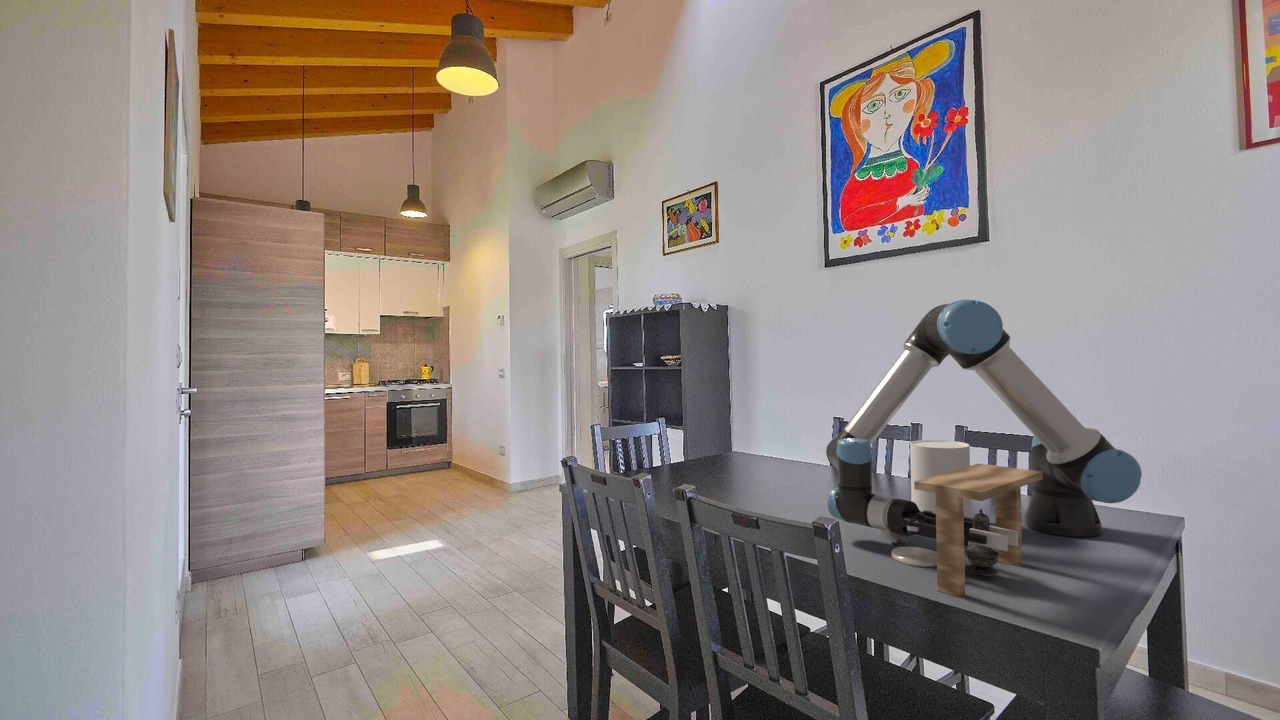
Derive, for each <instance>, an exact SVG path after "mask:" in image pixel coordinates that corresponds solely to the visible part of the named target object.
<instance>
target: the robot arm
mask: <svg viewBox="0 0 1280 720" xmlns="http://www.w3.org/2000/svg"><path fill="white" fill-rule="evenodd" d="M1003 326H1004V323H1003V320H1002V317H1001V315H1000V314H999V312H998V311H997V310H996V309H995V308H994V307H993V306H991V305H990V304H988V303H986V302H984V301H980V300H975V299H974V300H973V299H961V300H957V301H952V302H951V303H947V304H945V303H944V304H940V305H938V306H936V307H933V308H932V309H930V310H929V311H928V312H927V313H926V314H925V315H924V316H923V317H922V318H921V320H920V321H919V323H918V324H917V325H916V326H915V327H914V329H913V331H912V332H911V334H910V335H909V336H908V337H907V339H906V340H905V341H904V343H903V351H902V352H901V353H900V355H899V357H898V358H897V359H896V360H895V362H894V363H893V364H892V365H891V366H890V368H889V370H888V371H887V372H886V373H885V375H884V376H882V379H881V380H880V381H879V382H878V383H877V385H876V387H875V388H874V389H873V391H872V392H871V393H870V394H869V395H868V397H867V398H866V399H865V401H864V402H863V403H862V405H861V406H860V407H859V409H858V410H857V411H856V412H855V413H854V415H853V416H852V417H851V418H850V420H849V421H848V423H847V424H846V426H845V427H844V428H843V429H842V431H840V432H839V434H838V435H837V437H835V438H832V439H831V440H830V441H828V443H827V444H826V447H825V455H826V458H827V460H828V462H829V463H830V465H832V466H833V467H834V468H835V469H836V470H837V485H838V486H836V487H834V488H833V489H831V490H830V492H829V493H828V499H827V504H826V505H827V510H828V512H829V514H830V515H831V516H832V517H833V518H834V519H837V520H840V521H844V522H846V523H848V524H854V525H860V526H864V527H869V528H872V529H876V530H877V529H878V530H879V531H880V532H881V533H886V532H889V533H890V532H893V533H895V534H898V535H899V536H904V537H912V536H919V537H923V538H928V539H932V540H936V513H933V512H931V511H923V512H921V511H920V510H919V508H918V506H917V505H916V504H915V503H914V502H912V501H911V500H907V499H902V498H896V497H892V496H887V495H882V494H877V493H876V494H875V493H874V492H873V453H872V444H873V443H874V442H875V440H877V438H878V436H880V434H881V433H882V432H883V431H884V429H885V428H886V427H887V426H888V424H889V423H890V422H891V420H892V419H893V418H894V416H895V415H896V414H897V412H899V410H900V409H901V408H902V406H903V405H904V403H905V402H906V401H907V400H908V398H909V397H910V396H911V395H912V393H913V392H914V391H915V390H916V388H917V387H918V385H919V384H920V383H921V382H922V381H923V379H924V378H925V377H926V375H927V374H928V373H929V372H930V370H931V369H933V368H936V367H939V366H940V365H941V363H942V362H943V361H944V360H945V359H946V358H947V357H948V356H951V357H952V359H954V360H955V362H957V364H958V366H960V367H961V369H963V370H967V371H974V372H975V373H976V374H977V375H978V376H979V378H981V380H983V381H984V383H986V385H987V386H988V387H989V388H990V390H992V391H993V392H994V394H995V395H996V396H997V397H998V398H999V399H1000V400H1001V401H1002V402H1003V403H1004V404H1005V405H1006V407H1007V408H1008V409H1009V410H1010V411H1011V413H1013V414H1014V415H1015V416H1016V418H1018V420H1019V421H1020V422H1021V423H1022V424H1023V425H1024V426H1025V427H1026V428H1027V429H1028V430H1029V431H1030V432H1031V434H1033V437H1032V442H1031V448H1030V449H1031V464H1032V466H1031V467H1032V469H1031V470H1034V471H1041V472H1043V479H1042V480H1039V481H1036V482H1033V483H1032V495H1031V498H1030V501H1029V504H1028V505H1027V509H1026V512H1025V513H1024V523H1025V526H1027V527H1029V528H1030V529H1033V530H1036V531H1039V532H1042V533H1046V534H1050V535H1056V536H1063V537H1073V538H1074V537H1075V538H1091V537H1097V536H1100V535H1102V534H1103V533H1102V532H1103V527H1102V525H1103V524H1102V521H1101V519H1100V516H1099V514H1098V512H1097V509H1096V506H1095V504H1094V502H1093V501H1095V502H1098V503H1099V502H1100V503H1104V504H1118V503H1121V502H1124V501H1126V500H1128V499H1130V498H1131V497H1132V496H1133V495H1135V493H1136V492H1137V491H1138V489H1139V487H1140V486H1141V480H1142V479H1141V478H1142V475H1143V474H1142V469H1141V466H1140V463H1139V462H1138V460H1137V459H1136V458H1135V457H1134V456H1132V455H1131V454H1129V453H1127V451H1124V450H1122V449H1117V448H1115V447H1114V445H1112V444H1111V443H1110V441H1108V439H1107V438H1106V437H1105V436H1104V435H1103V434H1102V433H1101V432H1100V431H1099V430H1098V429H1096V428H1090V427H1084V425H1083V424H1082V423H1081V421H1079V420H1078V418H1077V417H1076V416H1075V415H1073V414H1072V412H1071V411H1070V410H1069V409H1068V408H1067V407H1066V406H1065V405H1064V404H1063V403H1062V401H1061V400H1060V399H1058V397H1057V396H1056V395H1055V394H1054V393H1053V392H1052V391H1051V389H1049V388H1048V387H1047V385H1046V384H1044V382H1043V381H1042V380H1041V379H1040V378H1039V377H1038V376H1037V375H1036V374H1035V373H1034V371H1033V370H1032V369H1031V368H1030V367H1029V366H1028V365H1027V364H1026V363H1025V362H1024V361H1023V360H1022V359H1021V358H1020V356H1018V355H1017V353H1016V352H1015V351H1014V350H1013V349H1012V348H1011V346H1010V343H1011V336H1010V335H1009V333H1007V332H1006V331H1005V329H1004V328H1003ZM972 543H973V544H977V545H981V546H986V547H990V548H992V549H993V550H996V549H998V550H1003V551H1008V545H1013V546H1018V531H1014V530H1009V529H1004V528H999V527H996V526H993V525H990V532H987V531H982V530H978V529H973V517H971V518H968V517H964V548H965V547H966V548H969V544H972Z"/></svg>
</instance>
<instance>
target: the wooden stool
mask: <svg viewBox="0 0 1280 720" xmlns="http://www.w3.org/2000/svg"><path fill="white" fill-rule="evenodd" d="M1042 479H1043V472H1041V471H1034V470H1032V469H1025V468H1019V467H1018V468H1017V467H1009V466H1001V465H993V464H986V463H985V464H984V463H975V464H972V465H970V466H968V467H964V468H961V469H957V470H954V471H950V472H946V473H943V474H939V475H935V476H932V477H928V478H925V479H921V480H917V481H914V489H916V490H922V491H927V492H933V493H935V495H936V539H935V540H936V541H935V543H936V552H937V566H936V573H937V574H936V579H937V580H936V582H937V583H936V587H937V591H938V592H942V593H945V594H948V595H951V596H954V597H957V598H961V597H963V596H965V595H966V571H965V570H966V569H965V568H966V567H965V566H966V565H965V564H966V563H965V546H964V511H963V498H967V499H971V500H972V501H977V502H978V501H979V502H983V501H986V500H989V499H990V498H991V499H992V498H995V499H994V501H995V508H994V509H995V527H999V528H1004V529H1009V530H1014V531H1018V546H1013V545H1008V551H1003V550H998V549H995V551H996V552H998V553H999V557H998V559H997V562H1000V563H1003V564H1004V563H1005V564H1009V565H1013V566H1017V567H1019V566H1021V565H1022V564H1023V552H1022V551H1023V548H1022V547H1023V544H1022V543H1023V542H1022V541H1023V540H1022V537H1023V536H1022V498H1021V497H1022V493H1021V492H1022V491H1021V489H1022V487H1025V486H1027V485H1030V484H1033V482H1036V481H1039V480H1042Z"/></svg>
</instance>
